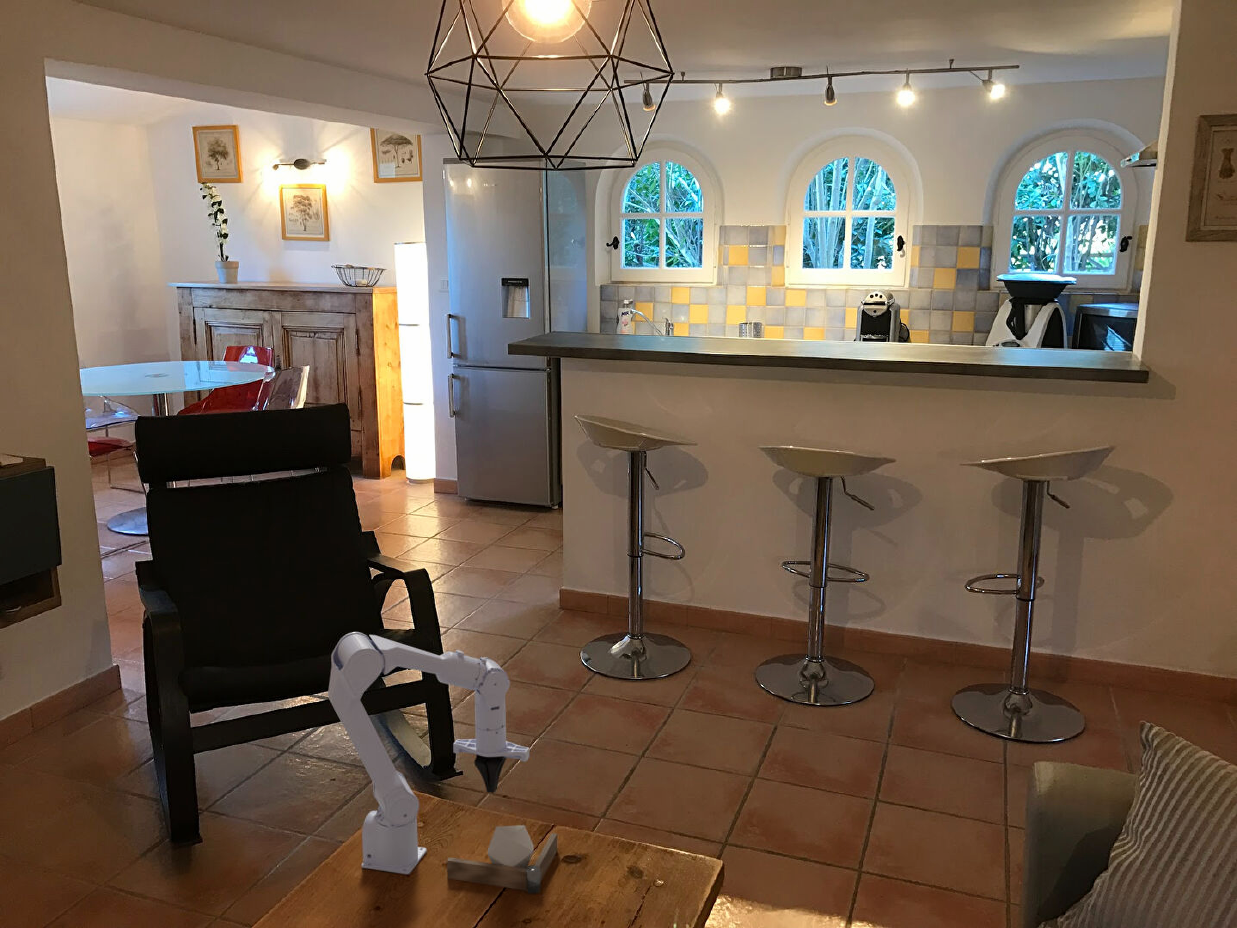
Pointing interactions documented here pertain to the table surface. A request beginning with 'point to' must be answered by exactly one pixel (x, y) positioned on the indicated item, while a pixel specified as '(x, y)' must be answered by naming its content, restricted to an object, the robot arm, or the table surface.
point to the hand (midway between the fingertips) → (492, 790)
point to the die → (511, 846)
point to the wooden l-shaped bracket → (505, 870)
